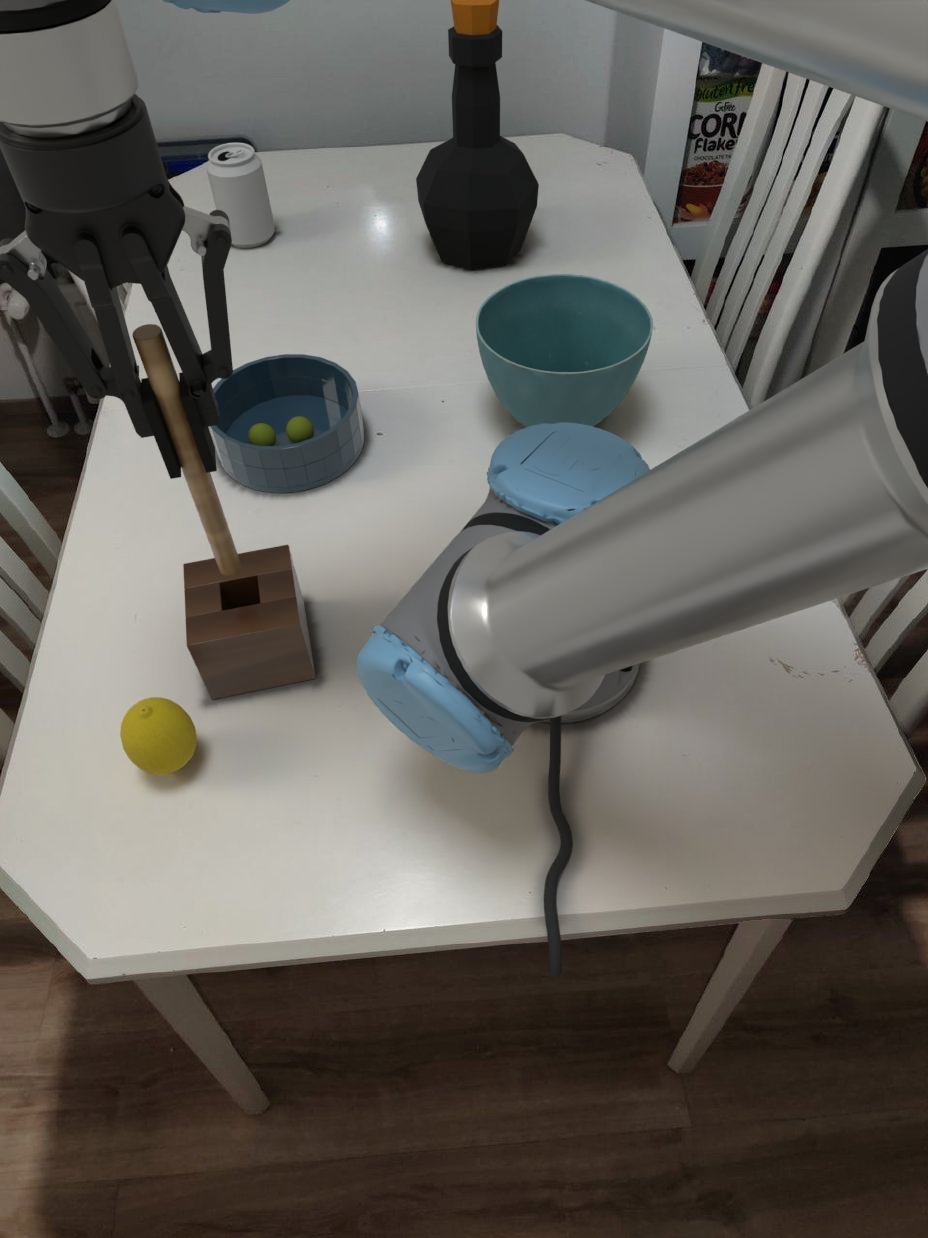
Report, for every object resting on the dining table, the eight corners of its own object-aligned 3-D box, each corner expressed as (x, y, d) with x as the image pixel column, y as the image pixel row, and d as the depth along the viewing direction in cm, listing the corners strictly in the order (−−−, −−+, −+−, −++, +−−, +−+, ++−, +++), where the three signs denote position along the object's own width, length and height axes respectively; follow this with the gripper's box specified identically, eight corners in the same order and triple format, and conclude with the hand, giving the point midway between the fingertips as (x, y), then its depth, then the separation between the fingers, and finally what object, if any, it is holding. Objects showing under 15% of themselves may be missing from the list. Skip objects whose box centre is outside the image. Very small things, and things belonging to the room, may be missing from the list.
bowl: (375, 478, 93) (369, 434, 89) (223, 504, 91) (209, 461, 87) (352, 387, 103) (346, 344, 98) (215, 410, 101) (201, 366, 96)
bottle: (430, 217, 128) (416, -28, 104) (541, 223, 126) (552, -25, 103) (409, 275, 118) (389, 19, 95) (529, 282, 116) (539, 23, 93)
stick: (242, 574, 70) (161, 337, 53) (220, 578, 70) (131, 342, 53) (240, 558, 72) (161, 321, 54) (218, 562, 71) (131, 325, 54)
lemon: (126, 770, 72) (91, 719, 66) (174, 721, 75) (145, 668, 69) (173, 803, 70) (142, 754, 64) (221, 752, 73) (195, 700, 67)
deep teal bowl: (448, 398, 101) (444, 303, 92) (578, 350, 107) (587, 255, 97) (531, 490, 91) (536, 395, 82) (669, 432, 97) (689, 336, 87)
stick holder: (315, 678, 77) (300, 623, 71) (211, 700, 76) (186, 645, 70) (303, 601, 83) (288, 544, 77) (206, 620, 82) (182, 563, 75)
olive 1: (261, 456, 96) (249, 454, 93) (251, 430, 96) (239, 428, 93) (284, 446, 96) (273, 443, 93) (274, 420, 96) (263, 417, 93)
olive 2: (304, 437, 93) (280, 424, 93) (304, 454, 96) (281, 441, 96) (319, 418, 94) (295, 406, 94) (318, 435, 97) (295, 423, 97)
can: (230, 224, 128) (209, 138, 119) (280, 224, 128) (263, 138, 118) (219, 250, 124) (196, 163, 114) (271, 250, 123) (253, 163, 114)
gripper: (211, 60, 47) (291, 412, 65) (-78, 92, 45) (88, 446, 63) (219, 117, 42) (302, 479, 61) (-103, 156, 40) (84, 517, 59)
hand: (192, 461), depth 62 cm, fingers closed on stick, 2 cm apart
